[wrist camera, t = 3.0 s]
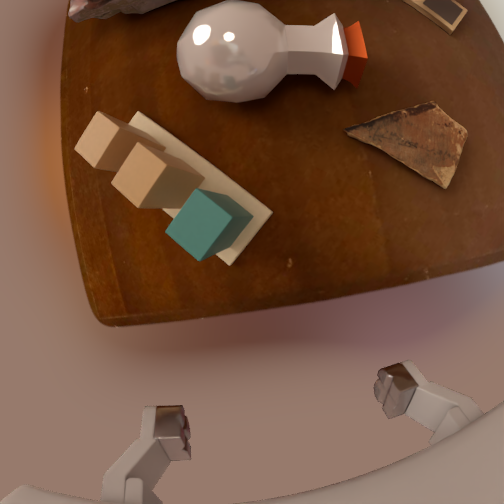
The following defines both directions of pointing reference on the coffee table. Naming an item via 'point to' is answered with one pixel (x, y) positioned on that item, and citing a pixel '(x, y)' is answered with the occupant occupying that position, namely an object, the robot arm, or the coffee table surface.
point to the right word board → (440, 12)
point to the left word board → (211, 185)
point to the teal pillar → (208, 223)
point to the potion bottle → (263, 51)
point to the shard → (417, 139)
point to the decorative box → (110, 8)
